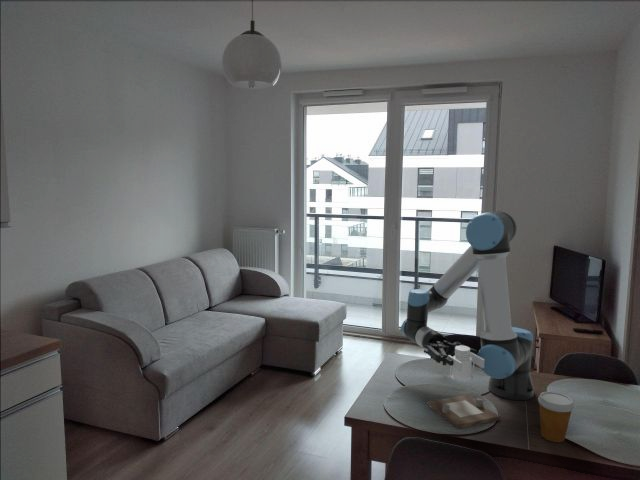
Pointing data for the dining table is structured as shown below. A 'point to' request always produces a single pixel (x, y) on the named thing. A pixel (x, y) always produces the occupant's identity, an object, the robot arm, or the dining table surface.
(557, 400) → the disposable coffee cup
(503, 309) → the robot arm
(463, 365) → the downlight
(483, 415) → the pin stand
